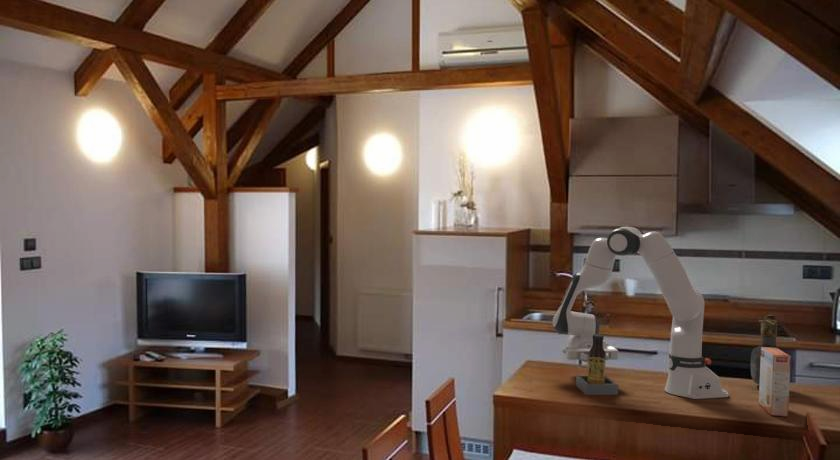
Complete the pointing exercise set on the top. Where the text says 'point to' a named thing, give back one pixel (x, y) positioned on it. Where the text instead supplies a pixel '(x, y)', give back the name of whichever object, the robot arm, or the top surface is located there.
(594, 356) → the sauce bottle
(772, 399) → the cracker box
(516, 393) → the top surface
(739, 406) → the top surface
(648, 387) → the top surface
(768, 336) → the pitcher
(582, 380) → the bottle collar
